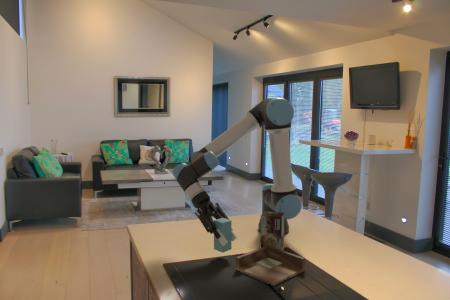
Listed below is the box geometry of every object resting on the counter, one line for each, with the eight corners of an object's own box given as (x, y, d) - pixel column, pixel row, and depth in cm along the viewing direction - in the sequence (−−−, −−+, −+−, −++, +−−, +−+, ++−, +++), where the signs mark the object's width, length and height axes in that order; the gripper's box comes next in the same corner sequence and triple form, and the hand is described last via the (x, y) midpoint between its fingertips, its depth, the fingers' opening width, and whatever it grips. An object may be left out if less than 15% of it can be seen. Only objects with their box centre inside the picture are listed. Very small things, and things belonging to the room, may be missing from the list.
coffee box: (284, 249, 164) (285, 212, 162) (281, 254, 158) (282, 216, 156) (263, 246, 166) (264, 210, 165) (259, 251, 160) (260, 214, 159)
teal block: (222, 246, 158) (222, 217, 156) (231, 249, 154) (231, 220, 153) (213, 249, 154) (213, 220, 153) (222, 252, 151) (222, 223, 149)
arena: (267, 257, 155) (267, 245, 154) (304, 270, 142) (304, 258, 142) (235, 270, 143) (236, 257, 142) (273, 286, 130) (274, 272, 129)
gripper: (207, 196, 169) (237, 240, 161) (177, 205, 154) (210, 254, 146) (216, 186, 165) (248, 230, 157) (187, 194, 150) (221, 243, 142)
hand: (230, 241), depth 152 cm, fingers closed on teal block, 6 cm apart
